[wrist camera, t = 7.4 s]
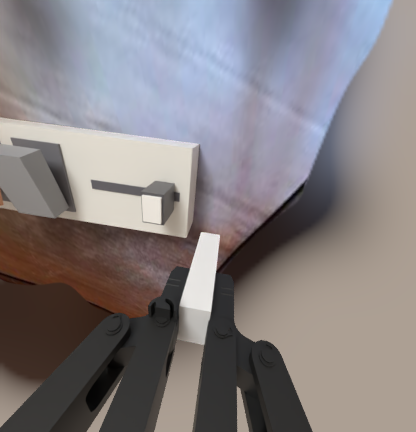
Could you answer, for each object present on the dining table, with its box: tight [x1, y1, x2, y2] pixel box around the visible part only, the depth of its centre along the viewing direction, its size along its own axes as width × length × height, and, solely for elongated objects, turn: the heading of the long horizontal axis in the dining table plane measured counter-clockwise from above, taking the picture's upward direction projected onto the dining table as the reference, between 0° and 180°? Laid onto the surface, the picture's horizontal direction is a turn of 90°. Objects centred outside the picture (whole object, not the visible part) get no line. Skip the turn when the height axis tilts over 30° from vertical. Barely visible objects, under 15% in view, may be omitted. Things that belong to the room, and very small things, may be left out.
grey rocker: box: [0, 144, 69, 218], centre depth 22 cm, size 5×8×2 cm, turn 173°
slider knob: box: [141, 181, 175, 226], centre depth 21 cm, size 2×4×4 cm, turn 173°
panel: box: [0, 117, 200, 238], centre depth 26 cm, size 30×12×5 cm, turn 83°
